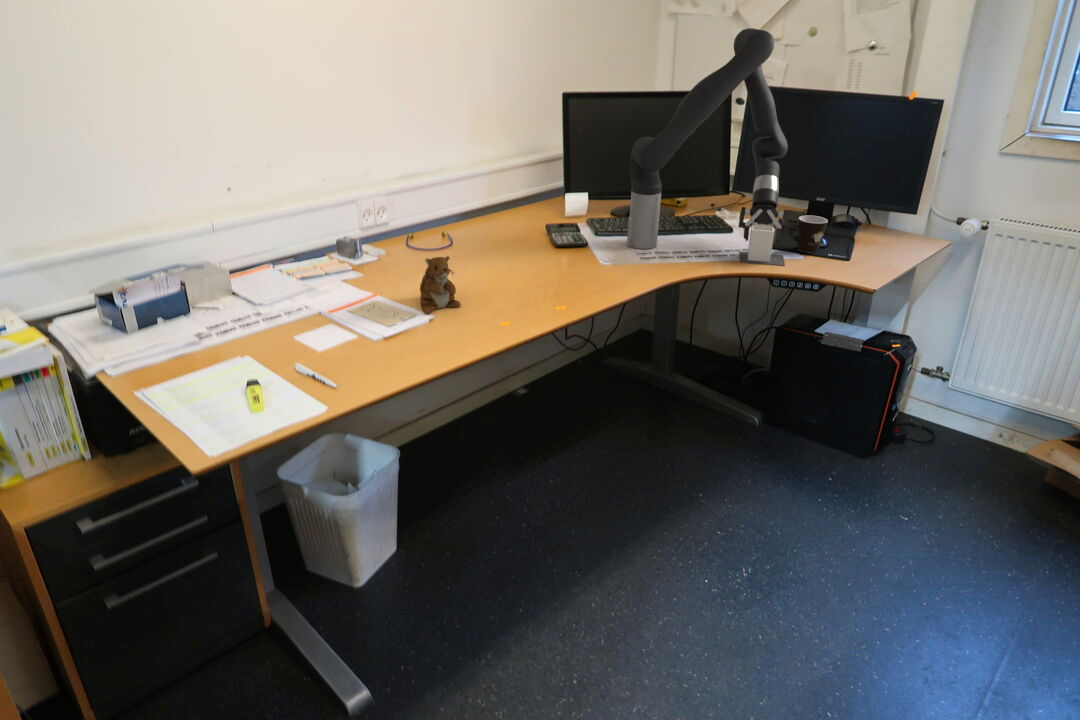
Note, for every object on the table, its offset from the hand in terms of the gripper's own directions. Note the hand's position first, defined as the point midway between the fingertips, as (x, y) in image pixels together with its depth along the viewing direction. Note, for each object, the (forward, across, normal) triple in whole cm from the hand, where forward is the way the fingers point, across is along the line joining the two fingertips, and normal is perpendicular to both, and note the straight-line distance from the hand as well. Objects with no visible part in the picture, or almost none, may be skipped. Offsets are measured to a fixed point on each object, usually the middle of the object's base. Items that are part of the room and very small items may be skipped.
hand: (761, 240), depth 224 cm
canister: (+3, 0, +5) cm, 6 cm away
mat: (+3, +1, +5) cm, 6 cm away
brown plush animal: (+44, -83, -35) cm, 101 cm away
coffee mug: (-5, +14, +14) cm, 20 cm away
